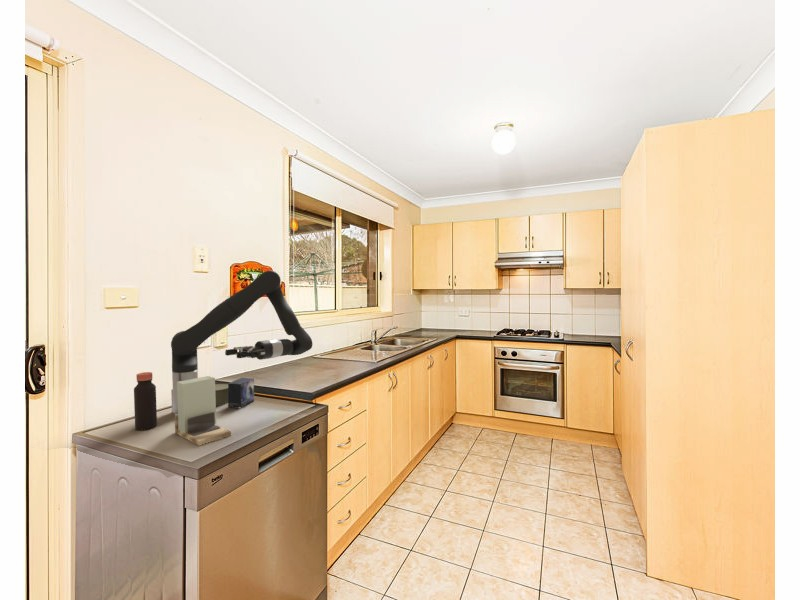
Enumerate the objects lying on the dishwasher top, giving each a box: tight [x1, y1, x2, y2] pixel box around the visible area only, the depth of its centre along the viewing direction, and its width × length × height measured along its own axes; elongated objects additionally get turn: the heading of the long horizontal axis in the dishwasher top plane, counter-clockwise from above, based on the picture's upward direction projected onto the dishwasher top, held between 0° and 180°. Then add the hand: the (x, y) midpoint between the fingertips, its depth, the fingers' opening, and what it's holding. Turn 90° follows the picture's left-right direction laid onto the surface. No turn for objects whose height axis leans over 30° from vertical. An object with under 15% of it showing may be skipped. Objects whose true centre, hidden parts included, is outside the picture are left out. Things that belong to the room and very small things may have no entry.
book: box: [177, 375, 217, 433], centre depth 141 cm, size 5×11×17 cm, turn 142°
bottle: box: [133, 371, 158, 431], centre depth 145 cm, size 7×7×20 cm
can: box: [215, 383, 228, 406], centre depth 176 cm, size 12×12×7 cm
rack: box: [174, 412, 232, 446], centre depth 139 cm, size 18×11×6 cm, turn 51°
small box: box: [227, 377, 255, 408], centre depth 173 cm, size 11×6×10 cm, turn 168°
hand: (231, 354), depth 151 cm, fingers open, 8 cm apart
